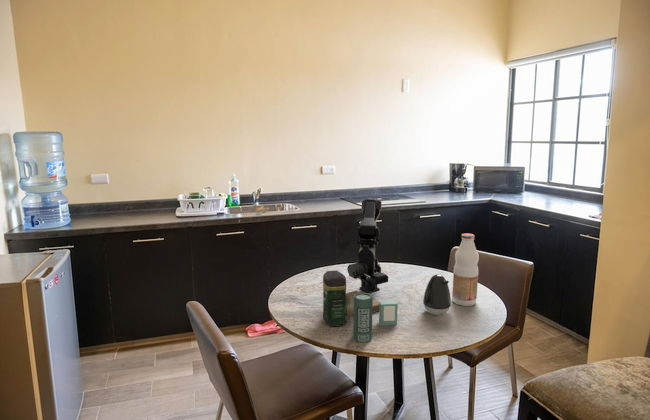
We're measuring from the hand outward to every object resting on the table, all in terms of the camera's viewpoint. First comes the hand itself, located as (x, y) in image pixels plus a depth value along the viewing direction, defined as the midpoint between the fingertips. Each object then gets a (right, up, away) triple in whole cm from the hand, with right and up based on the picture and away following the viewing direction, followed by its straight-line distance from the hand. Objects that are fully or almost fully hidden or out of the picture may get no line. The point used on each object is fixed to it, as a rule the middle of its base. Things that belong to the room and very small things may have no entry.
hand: (366, 293), depth 176 cm
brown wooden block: (-1, -3, +2) cm, 4 cm away
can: (-4, -10, -25) cm, 27 cm away
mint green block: (+6, -8, -14) cm, 18 cm away
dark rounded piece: (+26, -6, -6) cm, 27 cm away
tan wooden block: (-6, -6, -6) cm, 10 cm away
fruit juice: (+40, -4, +5) cm, 40 cm away
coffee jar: (-13, -8, -12) cm, 20 cm away
